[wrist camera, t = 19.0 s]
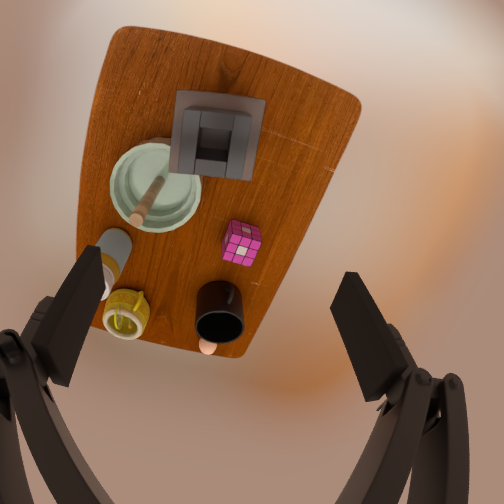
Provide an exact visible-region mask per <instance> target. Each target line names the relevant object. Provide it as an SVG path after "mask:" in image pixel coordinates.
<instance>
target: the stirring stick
mask: <svg viewBox="0 0 504 504" xmlns="http://www.w3.org/2000/svg"><path fill="white" fill-rule="evenodd" d="M164 184H165V179H164V178H163V177H162V176H157V177H156V178H155V179H154V181H153V182H152V183H151V185H150V186H149V188H148V189H147V191H146V192H145V194H144V195H143V197H142V198H141V200H140V201H139V203H138V204H137V206H136V207H135V209H134V210H133V212H132V214H131V215H130V217H129V222H130V224H131V225H132V226H134V227H140V226H141V225H142V224H143V222H144V220H145V218H146V216H147V214H148V213H149V211H150V209H151V207H152V205H153V203H154V201H155V200H156V198H157V196H158V194H159V192H160V191H161V189H162V187H163V185H164Z"/></svg>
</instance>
